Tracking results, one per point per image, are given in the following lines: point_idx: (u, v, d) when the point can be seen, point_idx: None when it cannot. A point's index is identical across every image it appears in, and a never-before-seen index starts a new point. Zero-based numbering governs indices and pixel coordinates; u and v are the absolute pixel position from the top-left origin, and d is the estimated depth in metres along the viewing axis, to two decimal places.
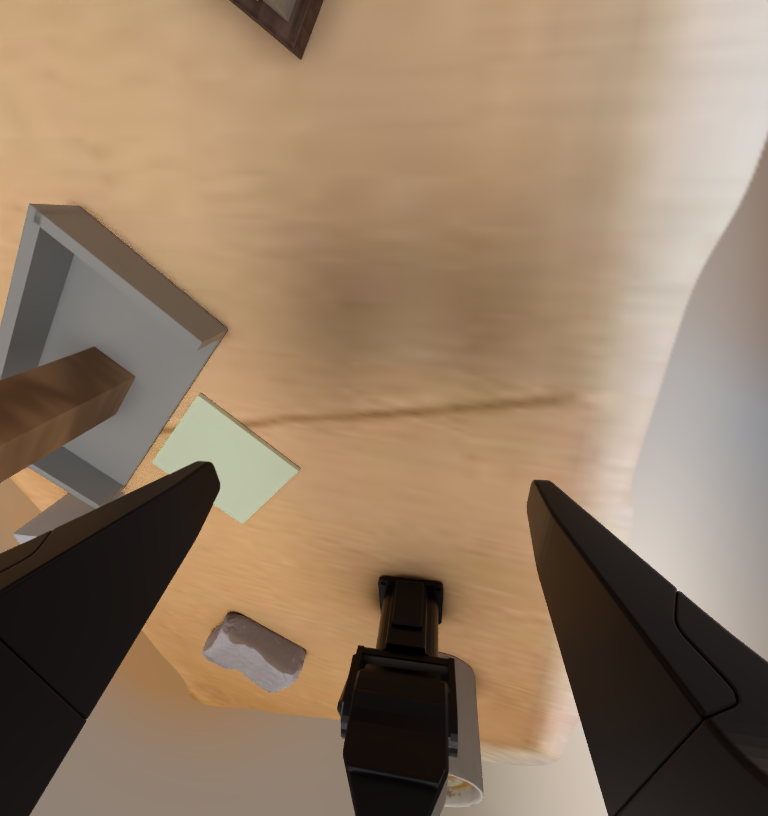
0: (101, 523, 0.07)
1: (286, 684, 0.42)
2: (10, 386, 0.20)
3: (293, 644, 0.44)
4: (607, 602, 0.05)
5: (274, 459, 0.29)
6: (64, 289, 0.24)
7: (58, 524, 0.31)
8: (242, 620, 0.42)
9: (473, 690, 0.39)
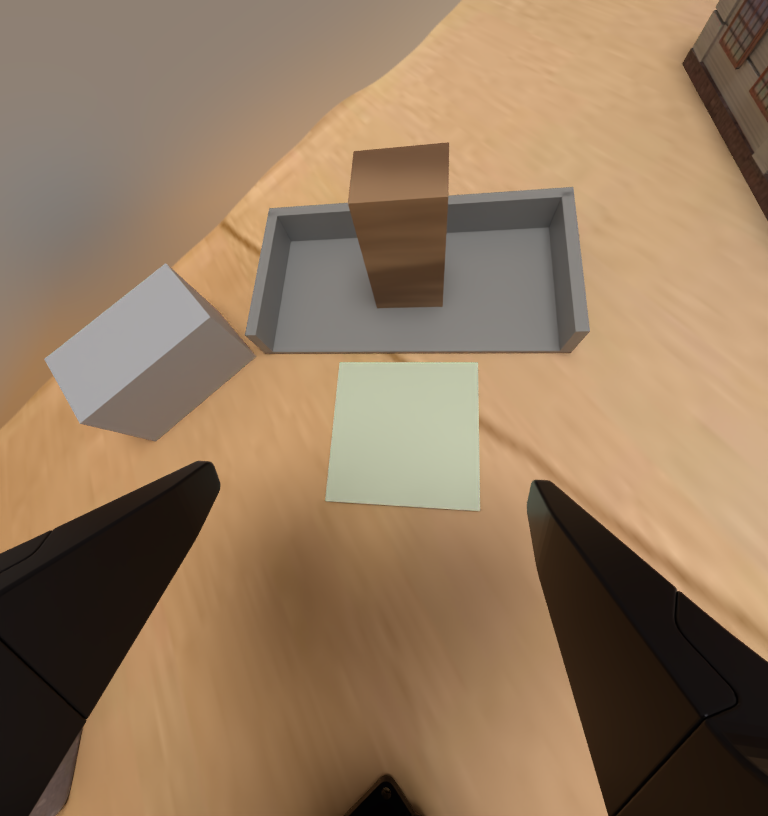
0: (101, 523, 0.07)
1: None
2: None
3: (72, 766, 0.20)
4: (607, 602, 0.05)
5: (471, 475, 0.22)
6: (477, 232, 0.27)
7: (202, 303, 0.23)
8: None
9: None
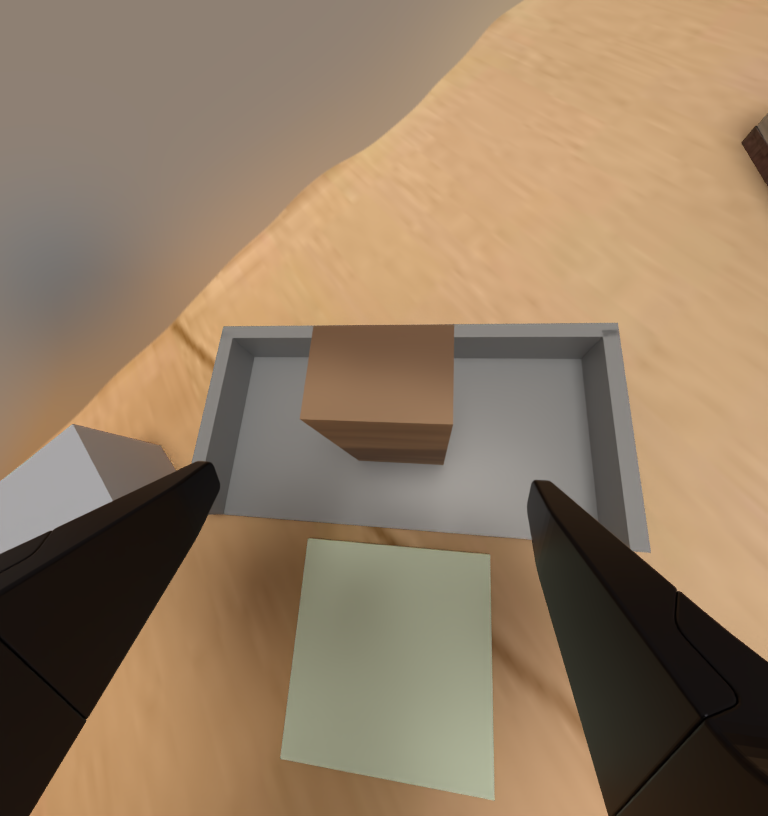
0: (101, 523, 0.07)
1: None
2: None
3: None
4: (607, 602, 0.05)
5: (482, 737, 0.16)
6: (488, 359, 0.21)
7: (123, 474, 0.18)
8: None
9: None
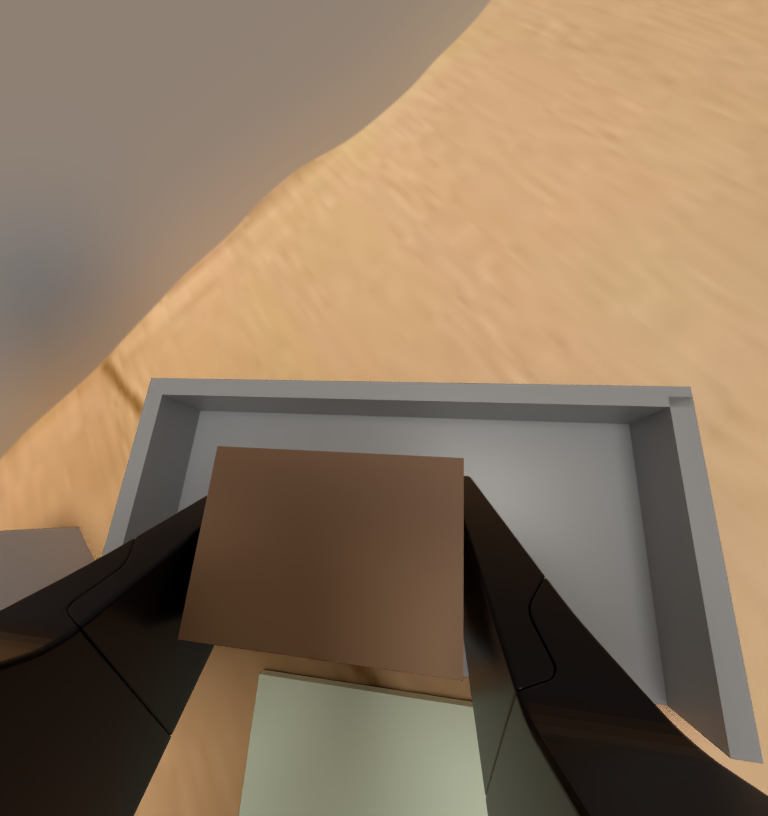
0: (184, 531, 0.07)
1: None
2: None
3: None
4: (480, 589, 0.06)
5: None
6: (503, 420, 0.16)
7: None
8: None
9: None
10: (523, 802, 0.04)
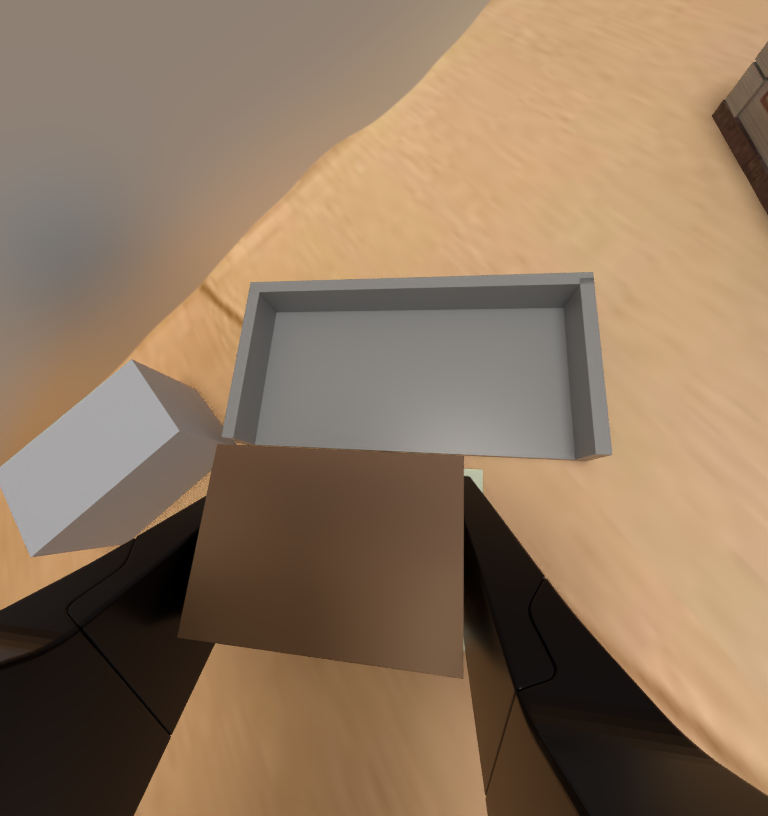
0: (184, 530, 0.07)
1: None
2: None
3: None
4: (480, 589, 0.06)
5: None
6: (482, 310, 0.24)
7: (174, 402, 0.21)
8: None
9: None
10: (523, 802, 0.04)
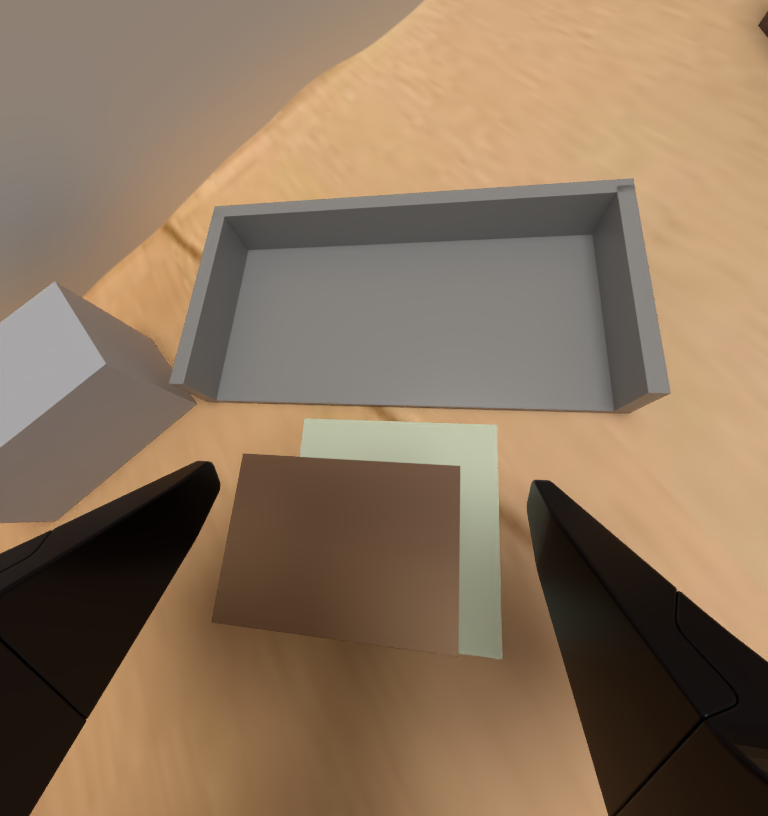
0: (101, 523, 0.07)
1: None
2: None
3: None
4: (607, 602, 0.05)
5: (489, 599, 0.15)
6: (494, 240, 0.20)
7: (109, 337, 0.17)
8: None
9: None
10: None
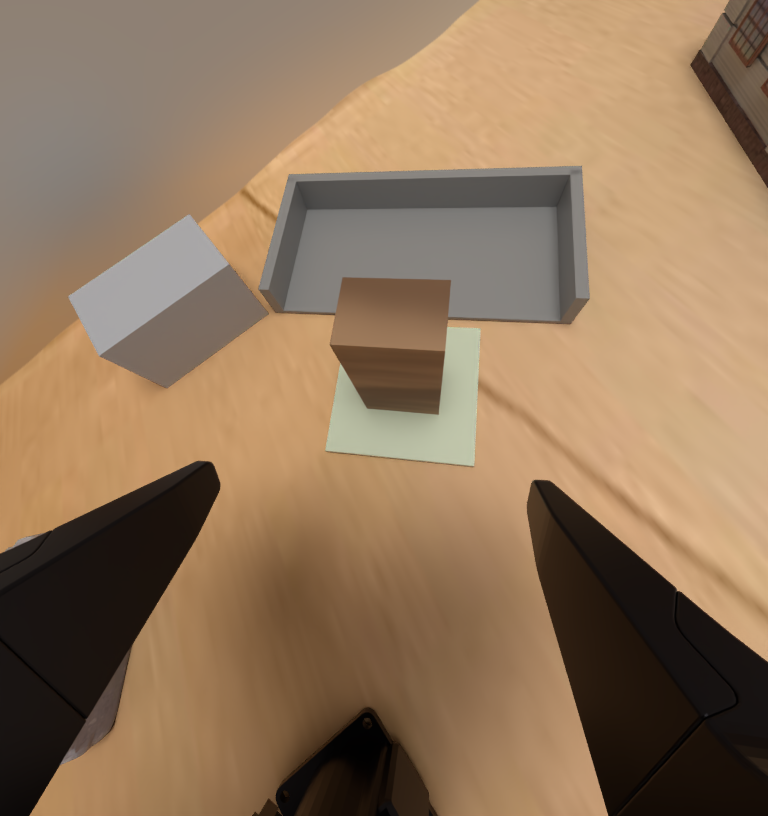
0: (101, 523, 0.07)
1: None
2: None
3: (119, 692, 0.21)
4: (607, 602, 0.05)
5: (467, 432, 0.22)
6: (487, 208, 0.28)
7: None
8: None
9: None
10: None
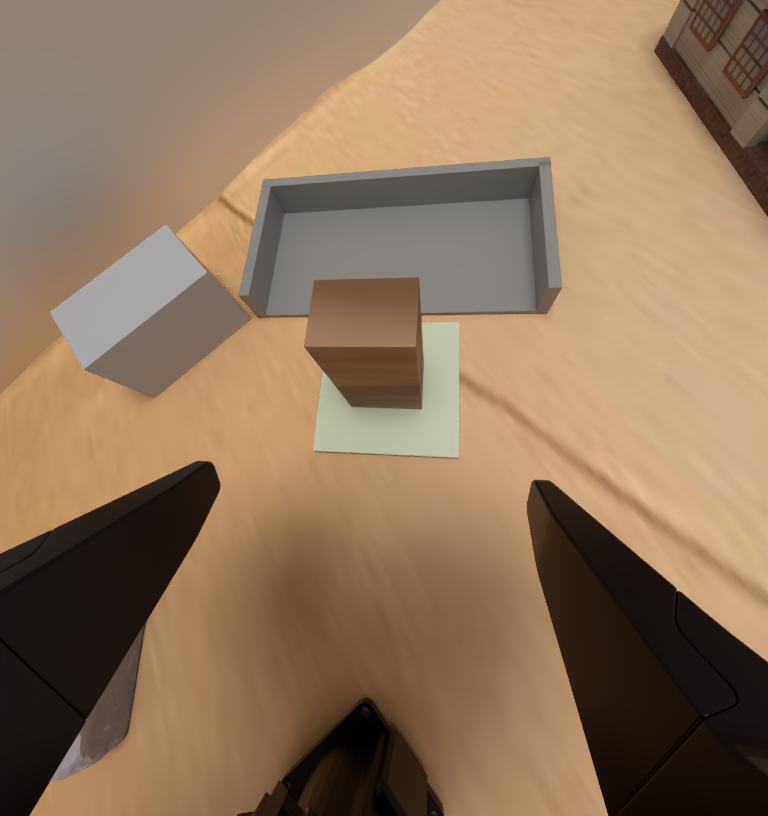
0: (101, 523, 0.07)
1: None
2: (420, 324, 0.18)
3: (131, 699, 0.21)
4: (607, 602, 0.05)
5: (451, 424, 0.23)
6: (461, 203, 0.28)
7: (200, 263, 0.25)
8: None
9: None
10: None
